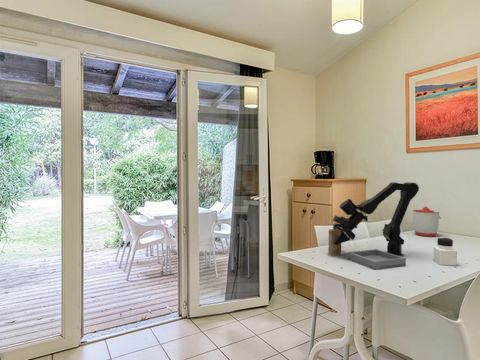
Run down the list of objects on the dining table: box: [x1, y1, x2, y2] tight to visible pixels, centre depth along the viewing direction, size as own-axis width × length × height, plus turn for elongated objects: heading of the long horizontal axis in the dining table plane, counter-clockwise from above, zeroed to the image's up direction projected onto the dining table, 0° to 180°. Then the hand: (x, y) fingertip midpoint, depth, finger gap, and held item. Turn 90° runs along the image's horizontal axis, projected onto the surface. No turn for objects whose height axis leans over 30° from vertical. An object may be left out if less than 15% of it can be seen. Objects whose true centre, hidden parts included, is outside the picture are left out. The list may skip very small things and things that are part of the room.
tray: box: [347, 248, 407, 271], centre depth 147 cm, size 18×18×4 cm
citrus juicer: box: [412, 206, 442, 237], centre depth 212 cm, size 16×17×20 cm
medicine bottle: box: [433, 237, 458, 267], centre depth 146 cm, size 7×7×12 cm
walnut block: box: [328, 228, 342, 257], centre depth 161 cm, size 5×5×13 cm
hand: (332, 242), depth 161 cm, fingers open, 9 cm apart
